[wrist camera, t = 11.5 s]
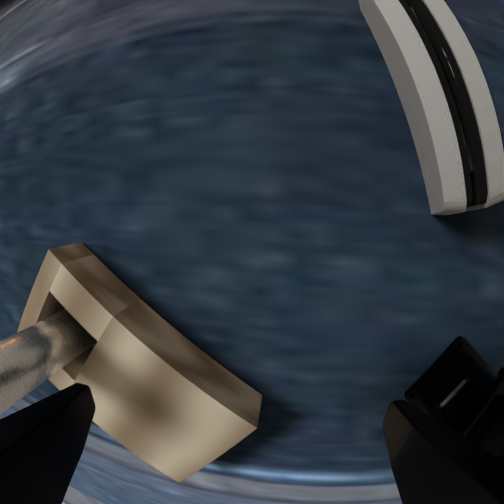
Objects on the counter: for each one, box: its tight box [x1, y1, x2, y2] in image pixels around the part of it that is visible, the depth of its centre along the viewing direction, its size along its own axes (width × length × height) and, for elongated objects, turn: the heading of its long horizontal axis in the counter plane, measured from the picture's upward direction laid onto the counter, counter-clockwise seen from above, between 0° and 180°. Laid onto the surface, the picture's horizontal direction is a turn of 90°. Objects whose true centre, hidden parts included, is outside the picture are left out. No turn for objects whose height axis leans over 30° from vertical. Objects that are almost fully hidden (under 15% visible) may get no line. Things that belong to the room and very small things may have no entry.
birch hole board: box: [17, 242, 262, 483], centre depth 20 cm, size 18×10×4 cm, turn 51°
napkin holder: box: [359, 0, 504, 215], centre depth 13 cm, size 17×5×10 cm, turn 14°
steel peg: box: [0, 309, 98, 414], centre depth 16 cm, size 4×4×12 cm
